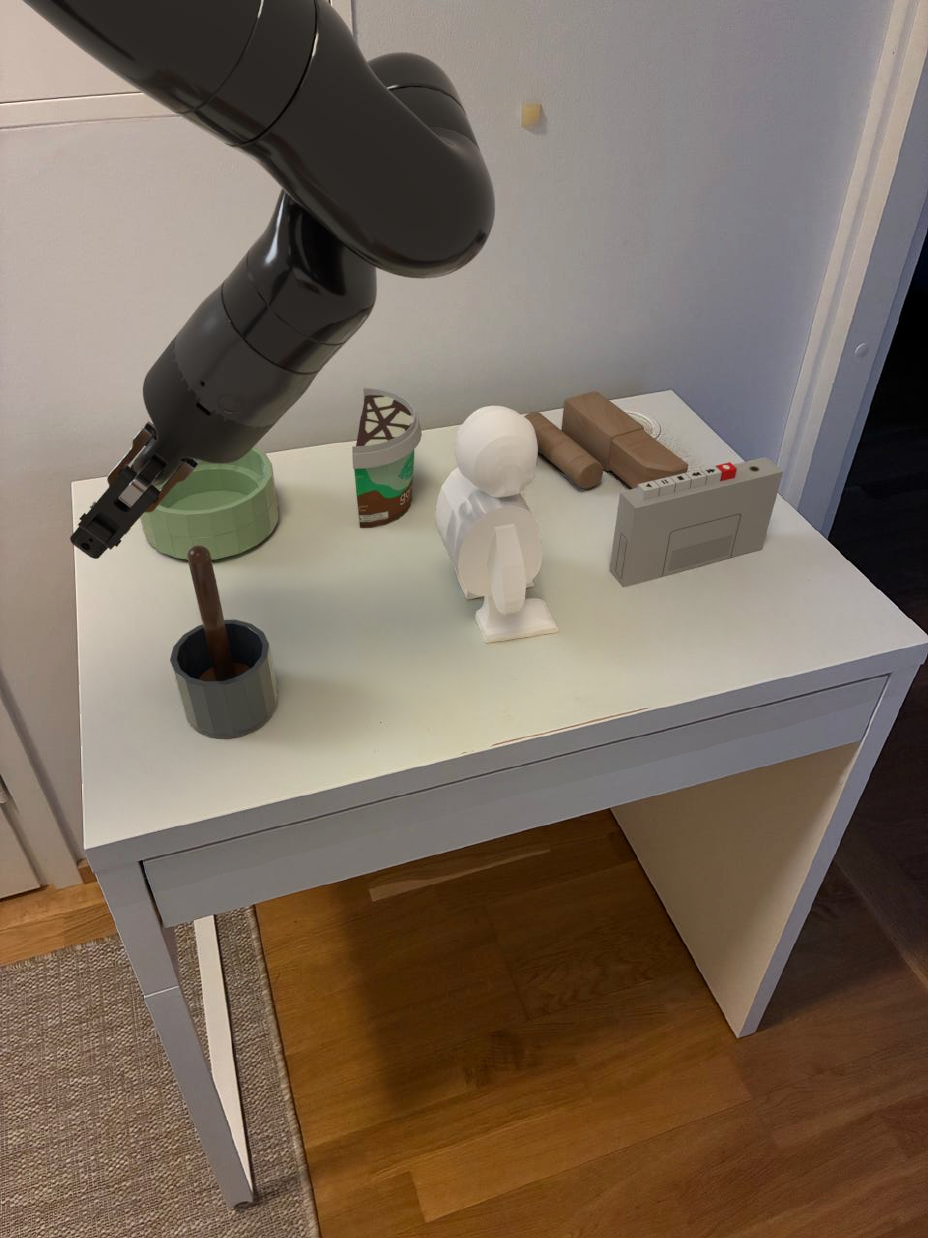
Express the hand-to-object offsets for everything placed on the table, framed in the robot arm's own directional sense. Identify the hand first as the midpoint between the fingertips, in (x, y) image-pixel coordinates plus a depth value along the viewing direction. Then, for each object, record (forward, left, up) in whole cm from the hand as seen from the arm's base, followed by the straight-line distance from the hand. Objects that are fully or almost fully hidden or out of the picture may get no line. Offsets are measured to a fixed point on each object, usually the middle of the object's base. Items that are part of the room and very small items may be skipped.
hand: (115, 510), depth 67 cm
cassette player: (+49, -3, -19) cm, 53 cm away
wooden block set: (+46, +14, -19) cm, 52 cm away
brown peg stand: (+4, -3, -18) cm, 19 cm away
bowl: (+9, +22, -18) cm, 30 cm away
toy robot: (+29, -1, -19) cm, 35 cm away
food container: (+27, +18, -19) cm, 38 cm away
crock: (+4, -3, -18) cm, 19 cm away
